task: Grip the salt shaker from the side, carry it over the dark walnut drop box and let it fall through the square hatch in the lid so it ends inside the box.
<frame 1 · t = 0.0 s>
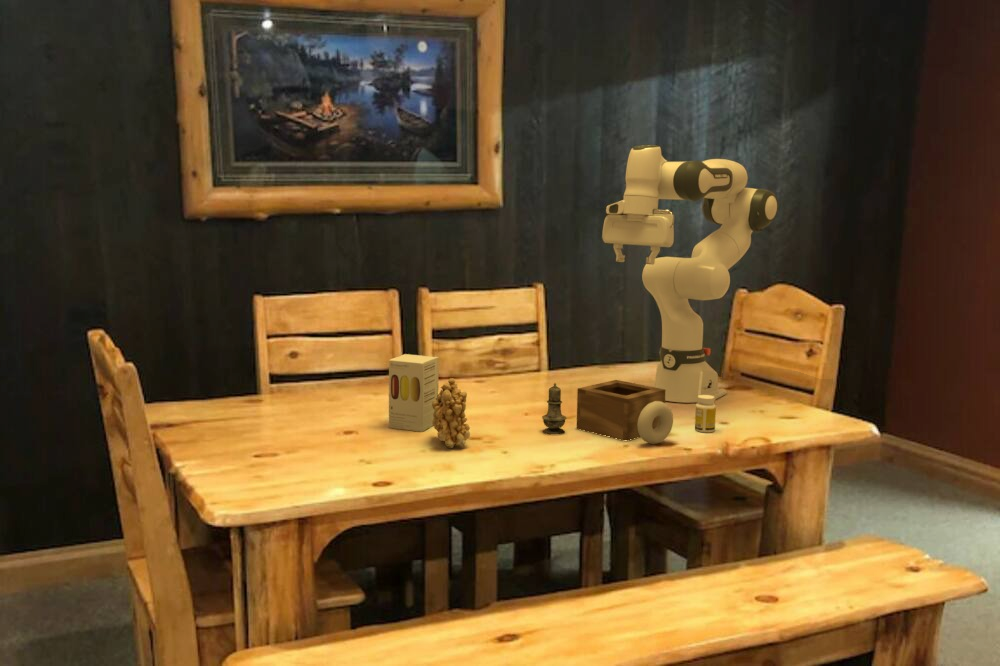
hand: (634, 263, 235), 39 cm above the table, tool pointing down, fingers open, 8 cm apart
supplement bottle: (704, 431, 223), on the table
donut: (654, 444, 211), on the table
mineral formation: (448, 443, 209), on the table
salt shaker: (553, 432, 220), on the table
supplement box: (413, 426, 224), on the table
drop box: (620, 429, 223), on the table
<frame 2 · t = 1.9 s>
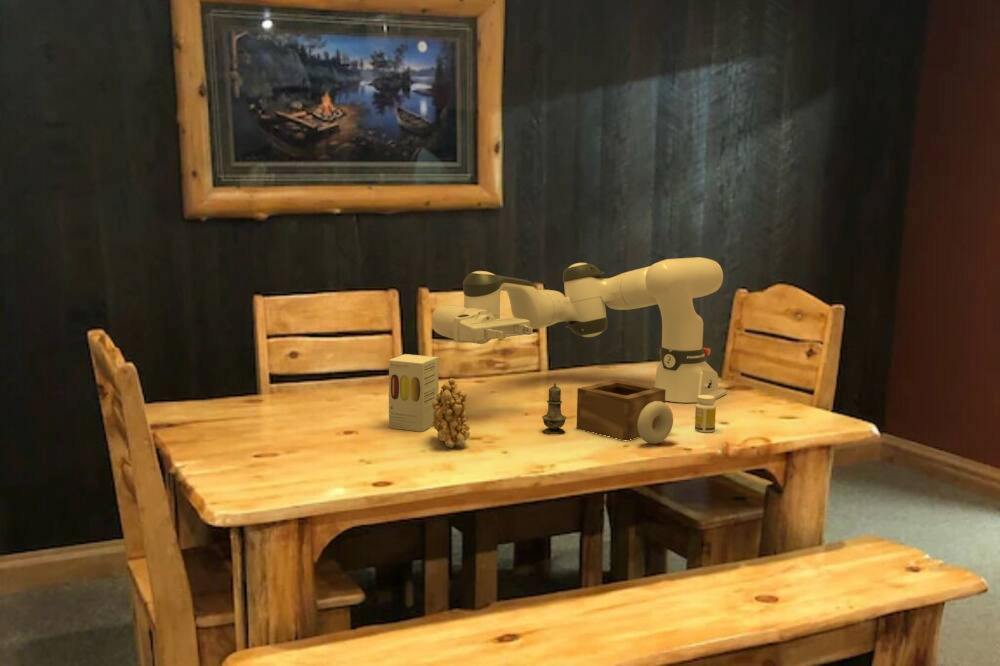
hand: (517, 333, 225), 22 cm above the table, tool horizontal, fingers open, 8 cm apart
nothing on the table moved.
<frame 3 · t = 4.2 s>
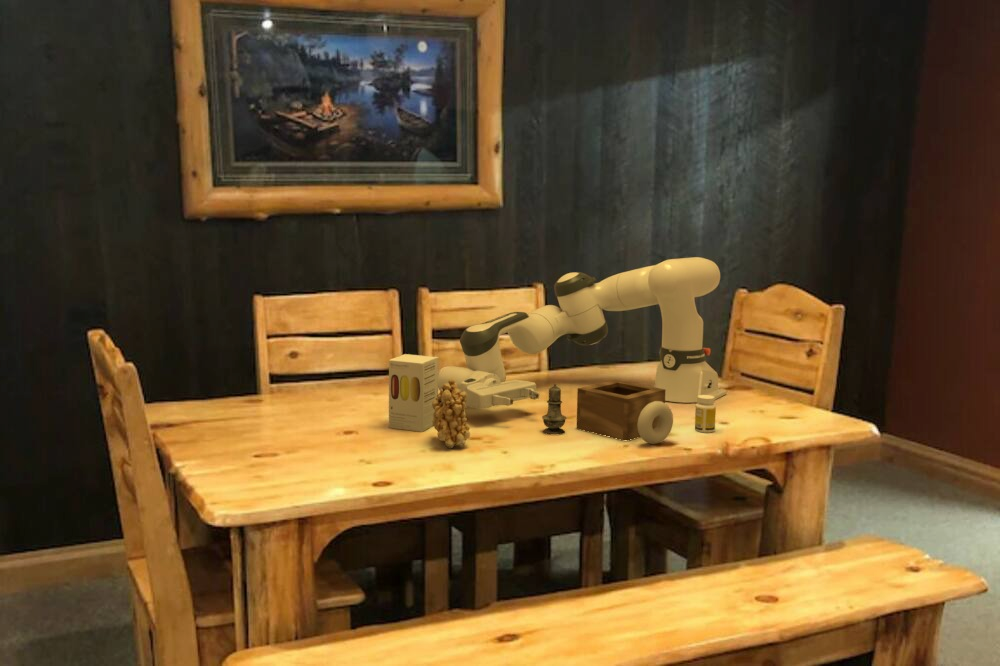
hand: (524, 398, 225), 6 cm above the table, tool horizontal, fingers open, 8 cm apart
nothing on the table moved.
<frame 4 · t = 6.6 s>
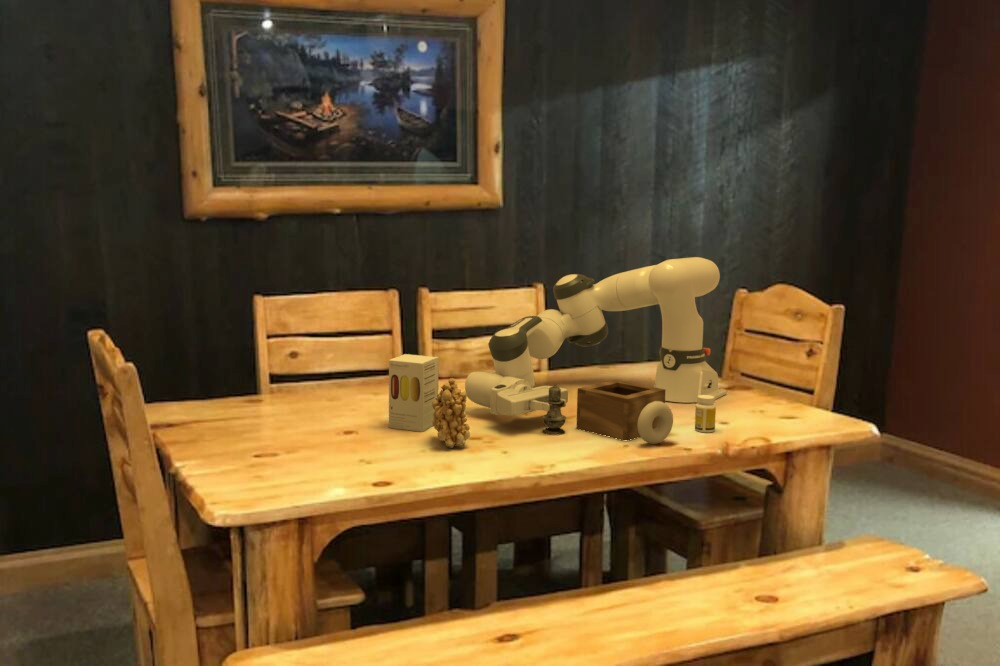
hand: (557, 405, 218), 7 cm above the table, tool horizontal, fingers closed on salt shaker, 4 cm apart
salt shaker: (553, 432, 220), on the table, touching gripper
everything else where it was.
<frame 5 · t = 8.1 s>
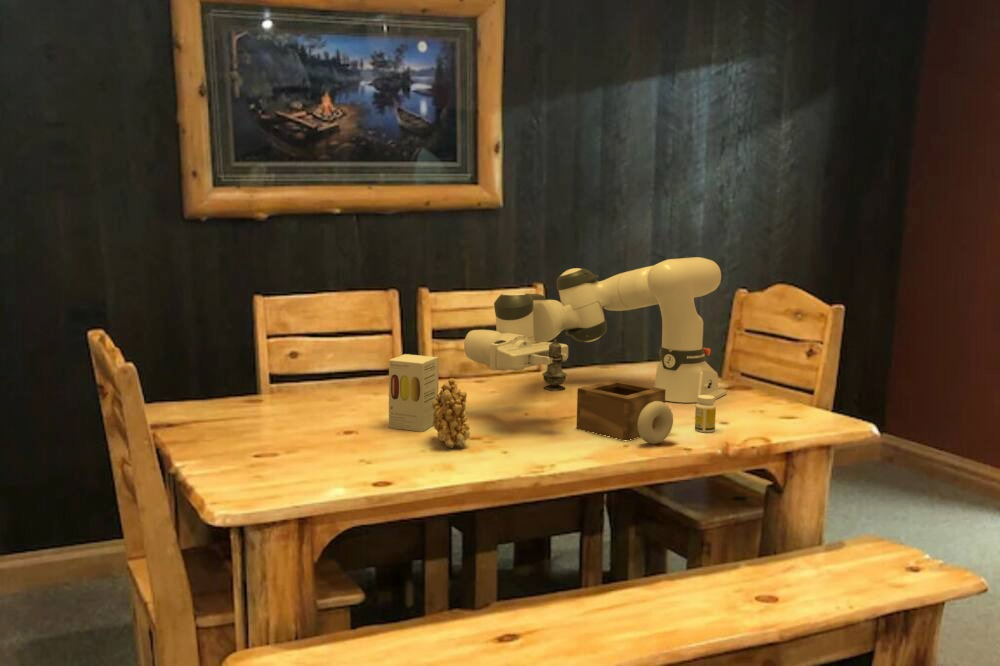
hand: (557, 359, 216), 18 cm above the table, tool horizontal, fingers closed on salt shaker, 4 cm apart
salt shaker: (554, 389, 218), point 10 cm above the table, touching gripper
everything else where it was.
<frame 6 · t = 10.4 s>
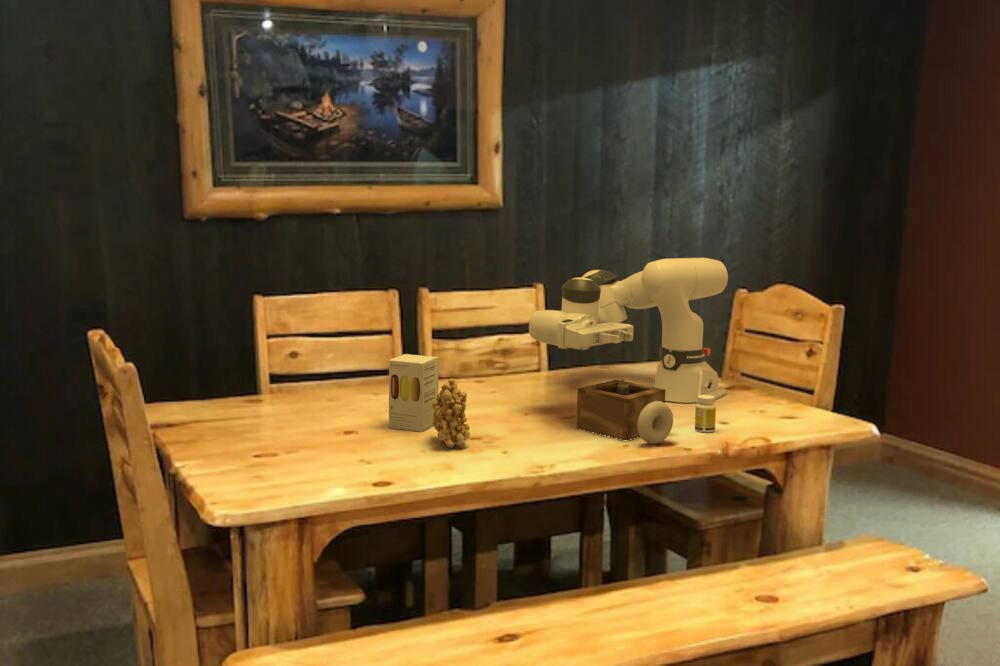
hand: (625, 338, 219), 22 cm above the table, tool horizontal, fingers open, 3 cm apart
salt shaker: (622, 427, 222), point 1 cm above the table, touching drop box
everything else where it was.
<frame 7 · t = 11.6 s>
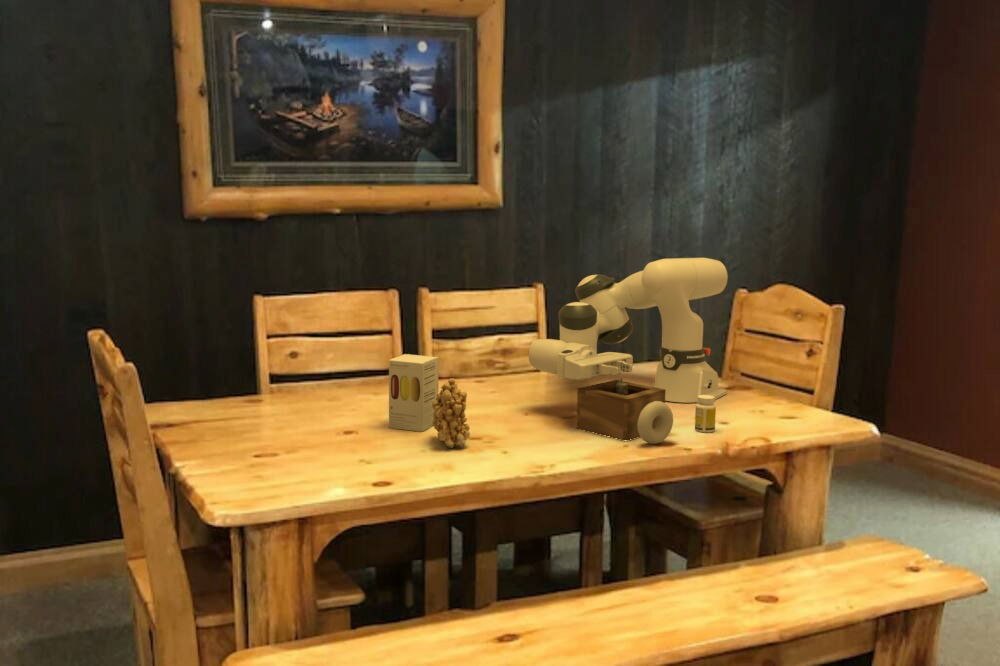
hand: (624, 369, 220), 15 cm above the table, tool horizontal, fingers open, 3 cm apart
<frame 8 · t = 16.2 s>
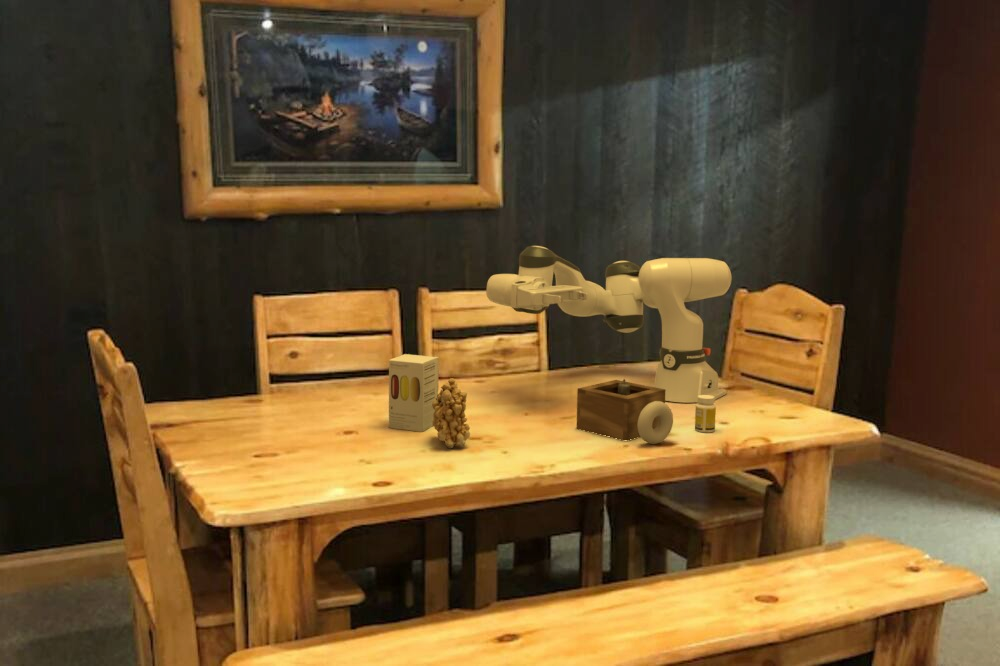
hand: (573, 298, 233), 30 cm above the table, tool horizontal, fingers open, 8 cm apart
nothing on the table moved.
at the end: salt shaker inside the target area on the drop box (0.7 cm from its centre), point 0.4 cm above the drop box's base; the gripper is holding nothing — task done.
